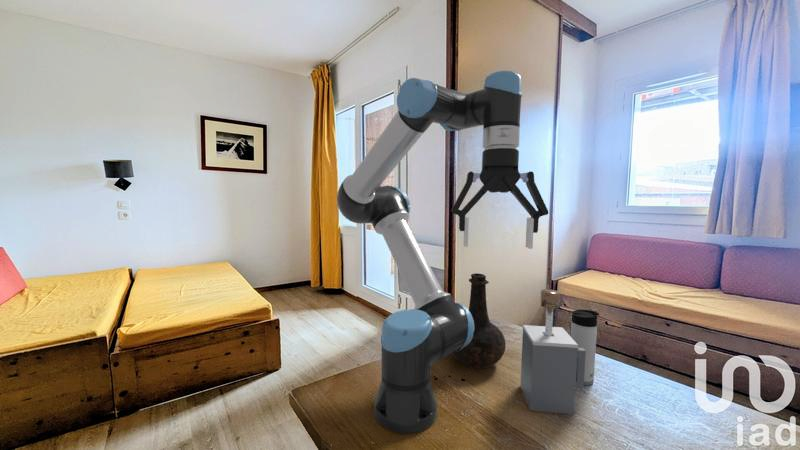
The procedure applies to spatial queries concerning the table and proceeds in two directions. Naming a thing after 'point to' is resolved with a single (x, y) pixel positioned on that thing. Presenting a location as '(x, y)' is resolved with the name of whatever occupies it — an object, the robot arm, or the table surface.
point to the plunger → (550, 307)
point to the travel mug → (585, 339)
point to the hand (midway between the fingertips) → (496, 246)
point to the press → (551, 369)
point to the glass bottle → (481, 330)
